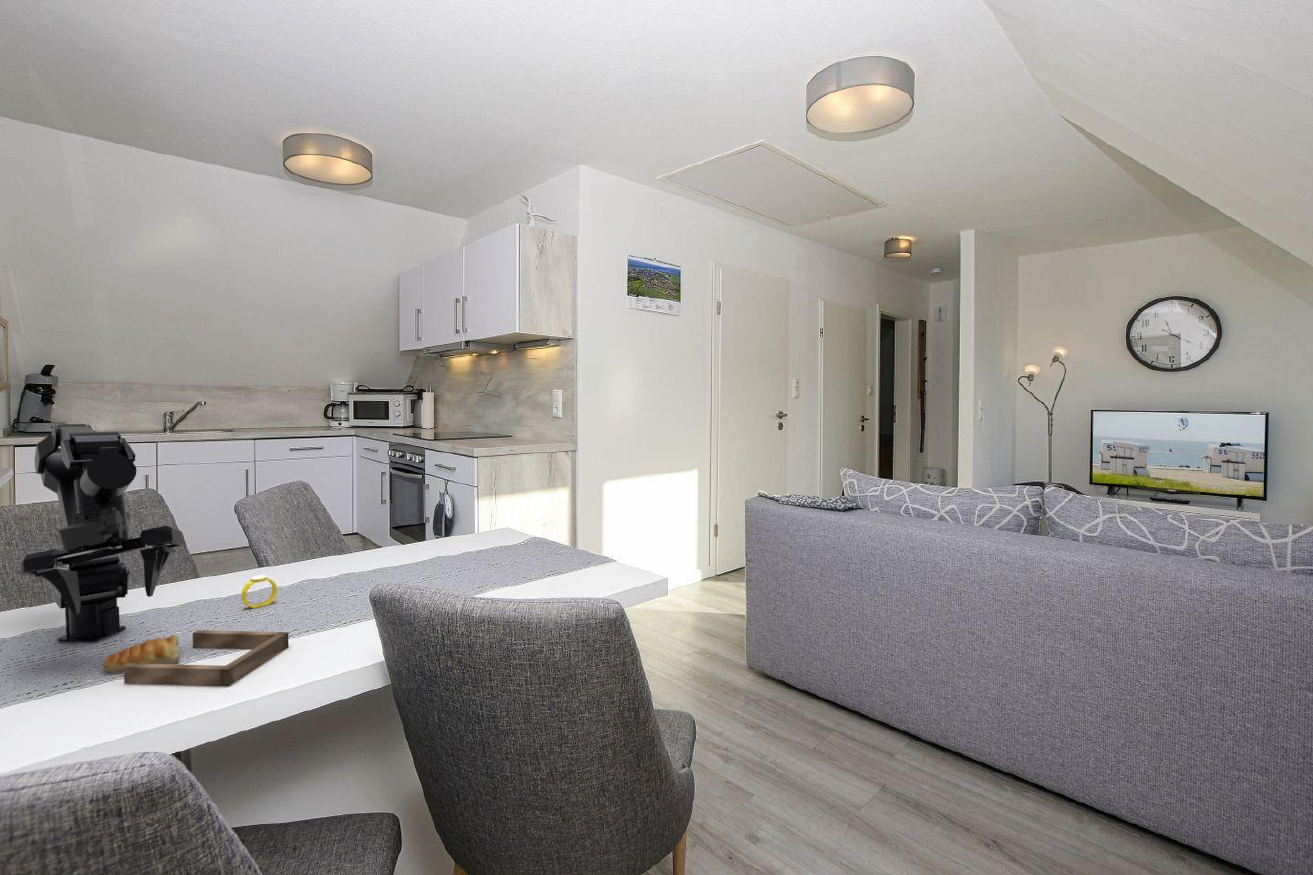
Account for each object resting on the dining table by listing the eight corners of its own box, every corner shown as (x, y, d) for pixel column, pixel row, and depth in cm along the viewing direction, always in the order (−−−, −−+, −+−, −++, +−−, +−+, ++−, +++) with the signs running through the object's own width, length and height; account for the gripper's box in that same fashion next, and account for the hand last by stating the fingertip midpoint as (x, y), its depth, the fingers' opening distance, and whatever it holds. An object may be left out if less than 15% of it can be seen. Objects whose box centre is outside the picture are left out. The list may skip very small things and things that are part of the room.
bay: (124, 683, 91) (123, 666, 91) (198, 644, 106) (197, 630, 105) (228, 686, 91) (228, 669, 91) (288, 646, 105) (288, 632, 105)
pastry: (102, 681, 92) (101, 655, 92) (103, 666, 98) (103, 641, 97) (182, 664, 98) (181, 640, 98) (179, 651, 104) (179, 628, 103)
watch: (247, 612, 122) (244, 583, 122) (241, 609, 124) (237, 580, 123) (280, 602, 127) (277, 573, 126) (273, 599, 129) (270, 571, 128)
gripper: (-8, 513, 89) (2, 623, 87) (150, 483, 96) (165, 584, 93) (38, 524, 100) (48, 623, 97) (179, 497, 106) (192, 588, 104)
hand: (113, 605), depth 97 cm, fingers open, 9 cm apart
